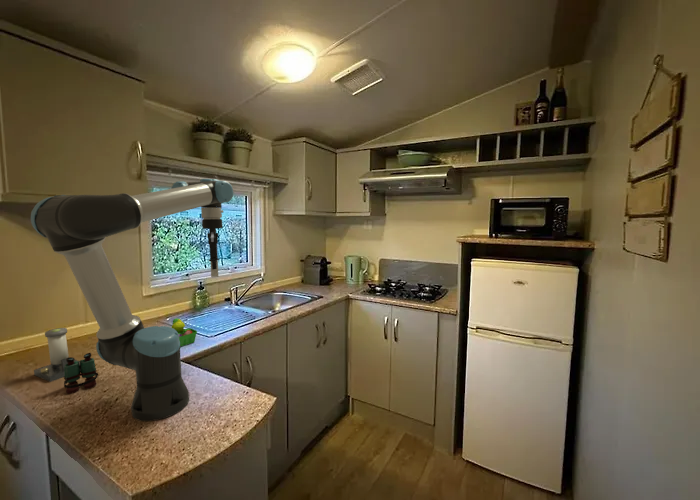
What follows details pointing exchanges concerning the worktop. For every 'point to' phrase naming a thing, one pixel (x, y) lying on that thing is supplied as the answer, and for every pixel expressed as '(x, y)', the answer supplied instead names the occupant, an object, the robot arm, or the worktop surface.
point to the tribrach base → (52, 371)
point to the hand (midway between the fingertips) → (214, 276)
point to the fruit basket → (184, 332)
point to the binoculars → (80, 373)
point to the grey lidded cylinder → (57, 345)
